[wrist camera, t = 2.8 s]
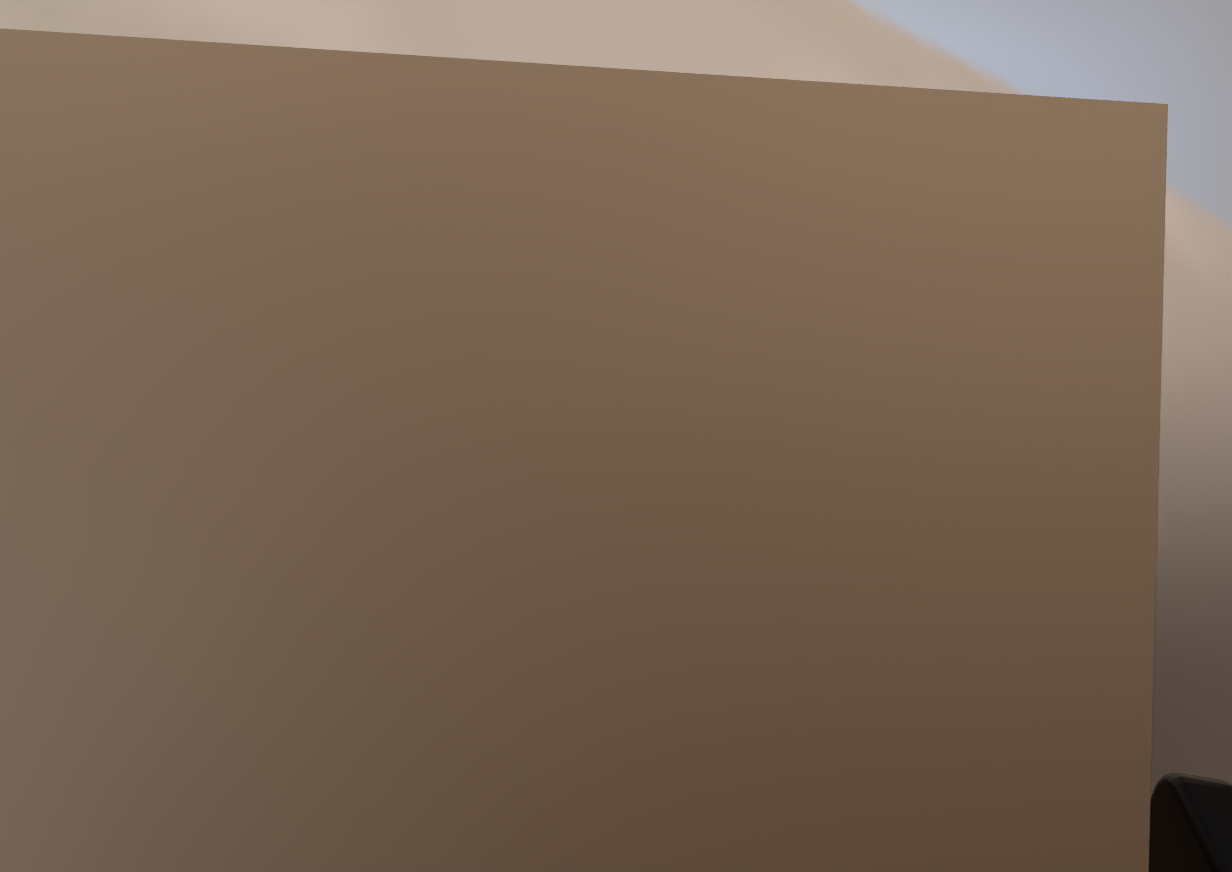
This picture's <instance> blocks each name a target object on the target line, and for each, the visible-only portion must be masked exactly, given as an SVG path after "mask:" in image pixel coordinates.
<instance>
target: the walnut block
mask: <svg viewBox="0 0 1232 872" xmlns="http://www.w3.org/2000/svg"><path fill="white" fill-rule="evenodd" d="M1167 117H1168V105H1167V104H1155V103H1140V102H1123V101H1108V100H1092V99H1078V98H1063V97H1047V96H1032V95H1016V94H1001V93H986V92H970V91H955V90H939V89H924V88H908V87H893V86H878V85H862V84H847V83H831V82H816V81H801V80H785V79H770V78H754V77H739V76H723V75H708V74H693V73H677V72H662V71H646V70H631V69H616V68H600V67H585V66H569V65H554V64H538V63H523V62H508V61H492V60H477V59H461V58H446V57H431V56H415V55H400V54H384V53H369V52H354V51H338V50H323V49H307V48H292V47H276V46H261V45H246V44H230V43H215V42H199V41H184V40H169V39H153V38H138V37H122V36H107V35H91V34H76V33H61V32H45V31H30V30H14V29H0V872H1149V836H1150V796H1151V756H1152V716H1153V676H1154V636H1155V596H1156V556H1157V516H1158V476H1159V436H1160V396H1161V356H1162V317H1163V277H1164V237H1165V197H1166V157H1167Z"/></svg>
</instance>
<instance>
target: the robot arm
mask: <svg viewBox="0 0 1232 872" xmlns="http://www.w3.org/2000/svg"><path fill="white" fill-rule="evenodd" d="M1149 872H1232V784H1230V783H1228V782H1225V781H1222V780H1218V779H1212V778H1205V777H1199V776H1193V775H1187V774H1180V773H1170V774H1167V775H1164V776H1163V777H1162V778H1161V779H1160V780H1159V782H1158V783H1157V785H1156V787H1155V789H1154V791H1153V794H1152V796H1151V799H1150V836H1149Z"/></svg>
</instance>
